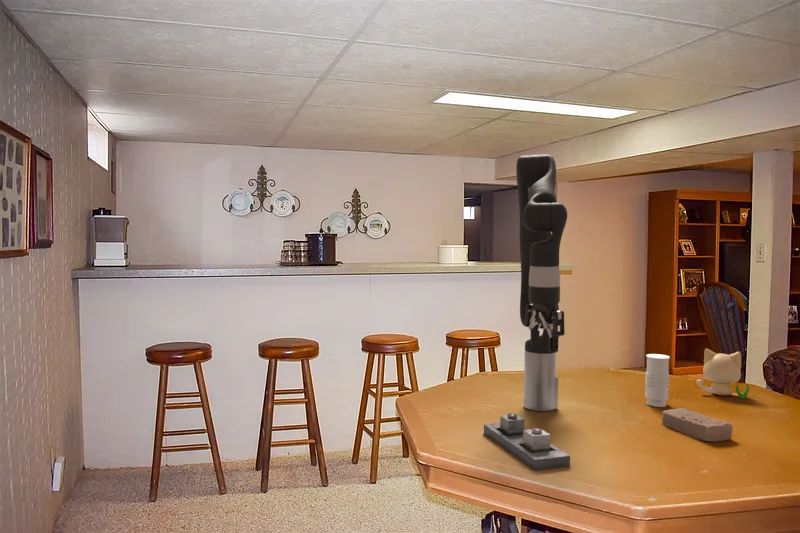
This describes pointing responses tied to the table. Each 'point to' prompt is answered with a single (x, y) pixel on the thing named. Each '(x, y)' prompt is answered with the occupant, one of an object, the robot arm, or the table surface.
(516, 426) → the knobbed grey cube
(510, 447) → the grey slotted board
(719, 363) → the kitten
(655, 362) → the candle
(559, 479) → the table surface
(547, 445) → the cube with silver knob
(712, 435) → the brick
